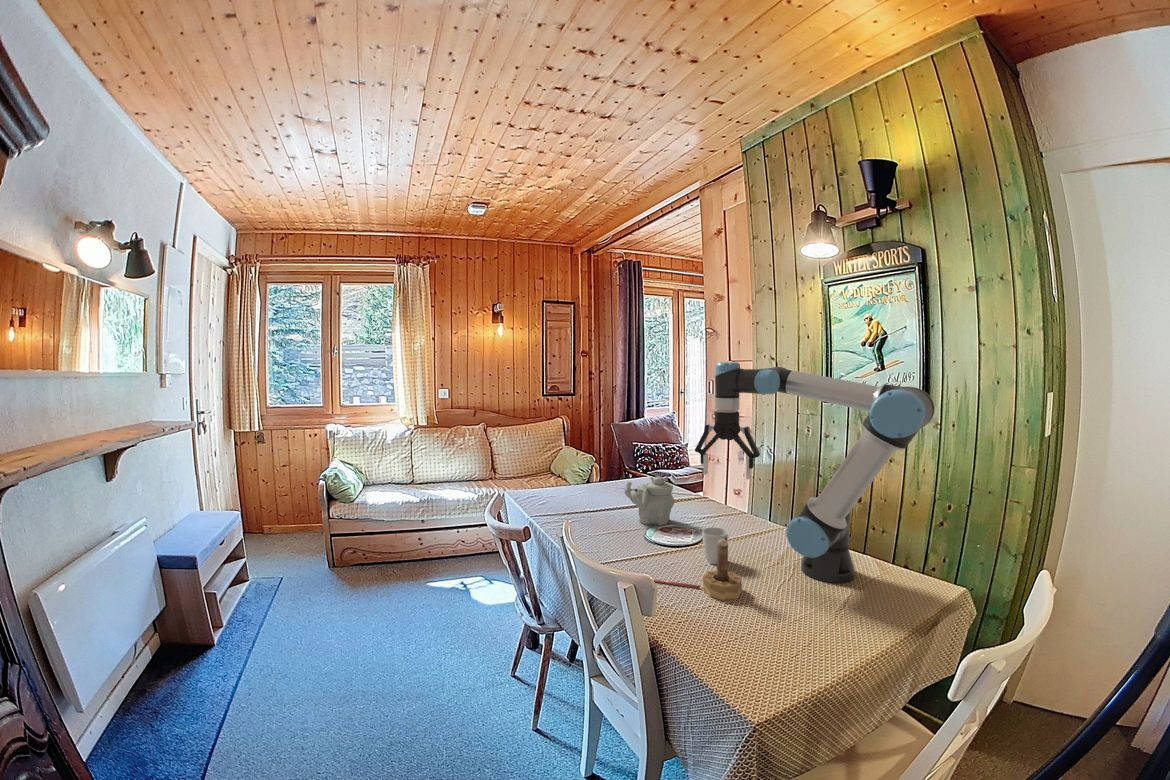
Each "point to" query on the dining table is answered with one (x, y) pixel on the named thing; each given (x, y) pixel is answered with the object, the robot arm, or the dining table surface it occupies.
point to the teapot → (652, 500)
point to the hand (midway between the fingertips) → (726, 476)
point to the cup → (713, 542)
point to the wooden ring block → (722, 586)
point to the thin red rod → (677, 583)
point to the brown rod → (722, 560)
